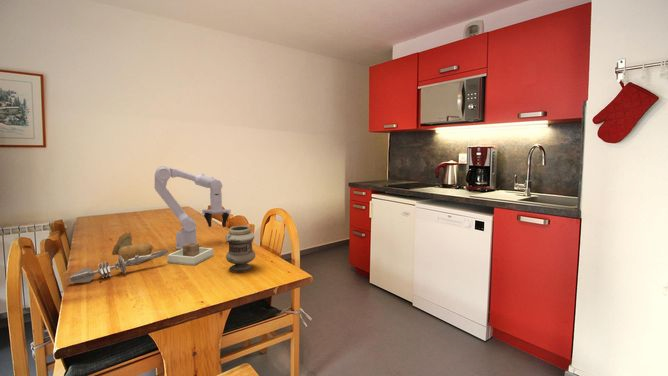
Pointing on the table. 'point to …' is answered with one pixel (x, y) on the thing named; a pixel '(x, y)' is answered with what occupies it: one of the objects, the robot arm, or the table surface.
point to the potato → (135, 251)
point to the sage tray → (186, 260)
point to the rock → (122, 242)
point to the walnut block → (190, 249)
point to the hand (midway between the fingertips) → (217, 226)
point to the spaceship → (111, 267)
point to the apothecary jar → (240, 248)
